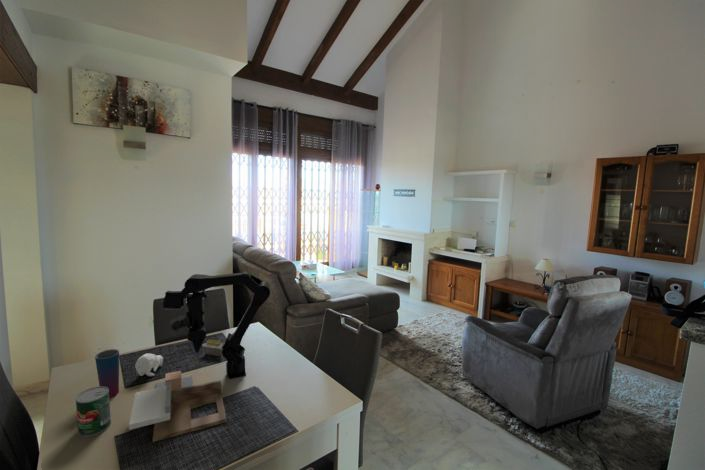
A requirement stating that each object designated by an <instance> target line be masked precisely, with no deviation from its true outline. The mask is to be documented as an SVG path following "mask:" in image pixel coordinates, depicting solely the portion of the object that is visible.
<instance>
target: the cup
mask: <svg viewBox="0 0 705 470" xmlns="http://www.w3.org/2000/svg"><path fill="white" fill-rule="evenodd" d="M94 360H95V365H96V371H97V379H98V384H99V387H101V386H103V387H107V388H108V389H109V399H110V398H113V397H115V396H117V395H118V394H119V393H120V392H119V391H120V387H119V386H120V350H118V349H113V348H111V349H106V350H103V351H100V352H98V353H96V354H95V355H94Z"/></svg>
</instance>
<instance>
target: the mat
mask: <svg viewBox="0 0 705 470" xmlns="http://www.w3.org/2000/svg"><path fill="white" fill-rule="evenodd" d="M190 386H193V376H192V375H191V376H186V377H182V388H185V387H190ZM160 387H165V381H162V382H157V383H155V388H160Z"/></svg>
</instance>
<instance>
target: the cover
mask: <svg viewBox="0 0 705 470" xmlns="http://www.w3.org/2000/svg"><path fill="white" fill-rule="evenodd" d="M170 411H171V382H167V386H165V387H160V388H156V387H155V388H152V389H146V390H141V391H138V392H135V395H134V401H133V404H132V408H131V412H130V418H129V424H128V429H129V430H130V431H131V430H133V429H139V428H143V427H146V426H149V425H150V426H151V425H154V423H158V422H162V421H166V420H170Z"/></svg>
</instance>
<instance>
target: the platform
mask: <svg viewBox="0 0 705 470" xmlns="http://www.w3.org/2000/svg"><path fill="white" fill-rule="evenodd" d="M223 343H224V342H221V340H215V339H208V340H206V342H205V343H204V342H203V343H202V345H201V347H204V348H205V355H209V356H215V357H223V355H222V349H221V348H222V345H223Z"/></svg>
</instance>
